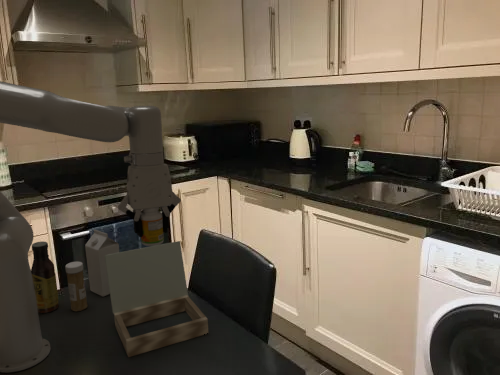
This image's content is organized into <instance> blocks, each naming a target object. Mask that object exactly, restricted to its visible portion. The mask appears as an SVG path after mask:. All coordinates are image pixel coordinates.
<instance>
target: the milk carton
mask: <svg viewBox="0 0 500 375" xmlns="http://www.w3.org/2000/svg"><path fill="white" fill-rule="evenodd" d="M108 235H109V234H108V233H107V232H103V231H100V230H98V229H93V234H91V237H90V238H89V239H88V241H87V242H86V243H85V244H84V245H85V246H84V249H85V256H86V257H85V258H86V265H87V272H88V282H89V290H90V291H91V292H92V293H94V294H97V295H99V296H100V297H105V296H108V295H110V290H109V283H108V276H107V269H106V263H105V256H104V255H108V254H114V253H119V252H120V246H119V243H118V242H117V241H116V240H114V239H112V238H110V237H109V236H108Z"/></svg>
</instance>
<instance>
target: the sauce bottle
mask: <svg viewBox="0 0 500 375" xmlns="http://www.w3.org/2000/svg"><path fill="white" fill-rule="evenodd" d="M48 249H49V244H48V242H47V241H42V240H41V241H36V242H34V243H32V244H31V251H32V254H33V258H32V259H33V260H32V265H31V267H30V269H31V273H32V278H33V283H34V290H35V296H36V302H37V309H38V314H39V313H41V314H46V313H51V312H53V311H55V310H58V308H59V293H58V292H59V291H58V284H57V276H56V272H55V271H56V270H55V264H54V262H53V261H52V260H51V259H50V258H49V257H50V256H49V250H48Z"/></svg>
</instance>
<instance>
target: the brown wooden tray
mask: <svg viewBox="0 0 500 375" xmlns="http://www.w3.org/2000/svg"><path fill="white" fill-rule="evenodd" d="M183 312H186V314H187V315H188V316H189V317H190V319H191V320H190V321H186V322H183V323H178V324H175V325H173V326H169V327H165V328H160V329H158V330H155V331H151V332H147V333H144V334H139V335H136V336H133V337H132V336H131V334H130V332H129V331H128V329H127V327H131V326H134V325H139V324H142V323H145V322H150V321H154V320H157V319H160V318H164V317H168V316H171V315H175V314H176V315H177V314H180V313H183ZM113 315H114V324H115V326H114V327H115V329H116V331H117V332H116V333H118V336H119V338H120V341H121V344H122V346H123V349H124V350H125V352H126V355H127V357H128V358H132V357H134V356H137V355H141V354H144V353H147V352H150V351H154V350H158V349H161V348H163V347H167V346H171V345H174V344H177V343H180V342H181V343H182V342H184V341H187V340H188V341H189V340H191V339H194V338H198V337H201V336H204V334H205V335H207V333H208V334H209V323H208V322H209V321H208V320H209V318H207V316H206V315H205V313H204V312H202V310H201V309H200V308H199V307H198V305H196V303H195V302H194V301H193V300H192V299H191V298H190V296H189V294H188V295H186V296H182V297H178V298H174V299H170V300H166V301H162V302H158V303H154V304H150V305H146V306H142V307H138V308H134V309H130V310H126V311H122V312H118V313H114V314H113Z"/></svg>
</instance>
